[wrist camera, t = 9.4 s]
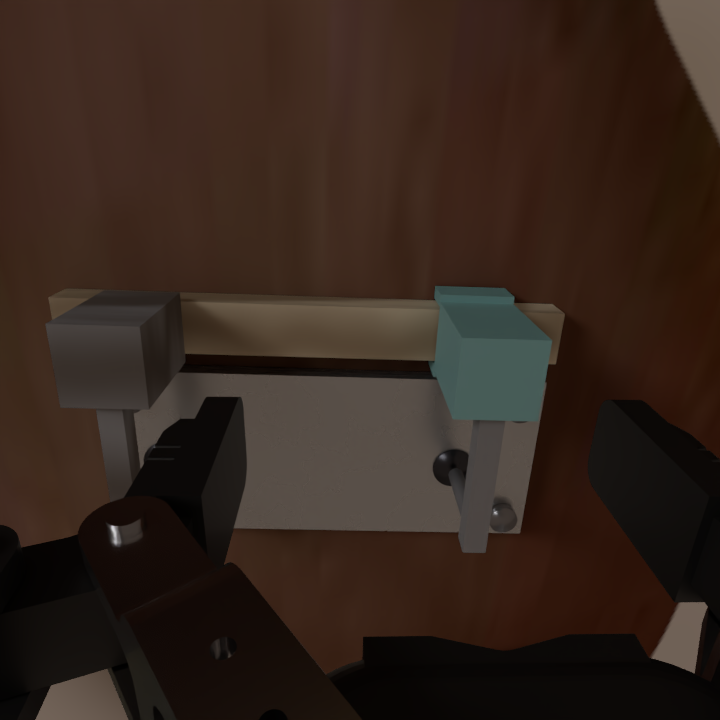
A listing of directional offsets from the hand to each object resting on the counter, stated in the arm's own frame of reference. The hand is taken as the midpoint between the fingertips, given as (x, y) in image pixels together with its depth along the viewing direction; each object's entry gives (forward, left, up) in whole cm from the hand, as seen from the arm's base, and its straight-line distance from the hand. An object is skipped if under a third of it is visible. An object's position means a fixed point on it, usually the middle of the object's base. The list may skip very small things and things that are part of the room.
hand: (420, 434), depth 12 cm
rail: (+8, -4, -20) cm, 22 cm away
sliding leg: (+7, +5, -20) cm, 22 cm away
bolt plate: (+12, -3, -20) cm, 23 cm away
